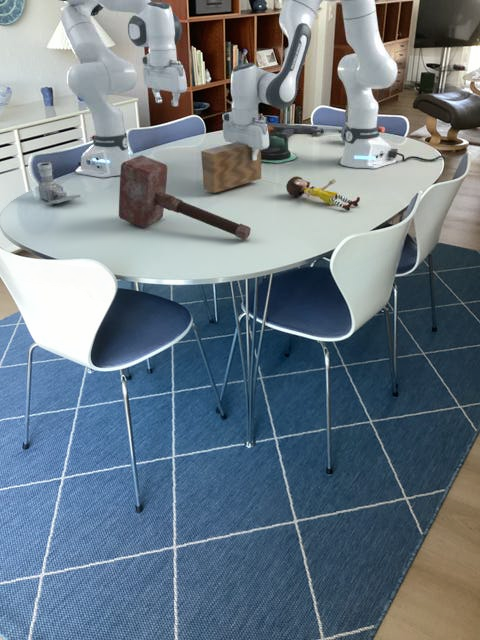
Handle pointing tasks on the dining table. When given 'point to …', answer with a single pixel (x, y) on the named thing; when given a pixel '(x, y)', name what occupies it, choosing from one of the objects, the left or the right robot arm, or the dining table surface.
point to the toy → (343, 132)
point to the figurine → (317, 192)
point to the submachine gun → (293, 129)
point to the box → (229, 166)
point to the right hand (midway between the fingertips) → (246, 158)
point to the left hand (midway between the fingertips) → (166, 104)
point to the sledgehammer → (160, 198)
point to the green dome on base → (277, 149)
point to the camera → (51, 186)
